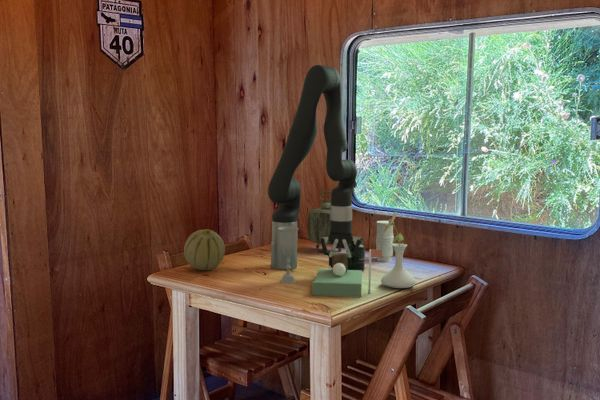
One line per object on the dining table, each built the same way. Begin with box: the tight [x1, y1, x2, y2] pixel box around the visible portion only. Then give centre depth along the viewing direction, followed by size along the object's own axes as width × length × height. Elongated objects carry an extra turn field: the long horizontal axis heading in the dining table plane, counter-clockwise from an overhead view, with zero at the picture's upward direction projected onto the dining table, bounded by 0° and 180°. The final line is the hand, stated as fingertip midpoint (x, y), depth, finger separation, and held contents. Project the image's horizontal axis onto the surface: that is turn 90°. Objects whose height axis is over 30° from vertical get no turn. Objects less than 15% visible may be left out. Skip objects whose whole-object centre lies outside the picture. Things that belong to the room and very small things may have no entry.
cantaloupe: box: [183, 228, 226, 271], centre depth 218 cm, size 15×15×15 cm
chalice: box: [278, 226, 300, 284], centre depth 203 cm, size 7×7×18 cm
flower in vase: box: [380, 212, 417, 289], centre depth 196 cm, size 13×11×25 cm
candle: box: [375, 220, 395, 262], centre depth 237 cm, size 7×7×15 cm
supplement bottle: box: [345, 235, 366, 272], centre depth 220 cm, size 7×7×12 cm
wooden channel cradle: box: [331, 252, 348, 271], centre depth 207 cm, size 5×6×5 cm
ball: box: [333, 263, 346, 276], centre depth 201 cm, size 4×4×4 cm
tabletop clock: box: [307, 191, 343, 253], centre depth 252 cm, size 14×9×25 cm, turn 58°
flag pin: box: [367, 248, 382, 294], centre depth 189 cm, size 4×1×14 cm, turn 84°
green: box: [311, 268, 363, 298], centre depth 199 cm, size 15×24×4 cm, turn 174°
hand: (340, 267), depth 208 cm, fingers closed on wooden channel cradle, 5 cm apart
